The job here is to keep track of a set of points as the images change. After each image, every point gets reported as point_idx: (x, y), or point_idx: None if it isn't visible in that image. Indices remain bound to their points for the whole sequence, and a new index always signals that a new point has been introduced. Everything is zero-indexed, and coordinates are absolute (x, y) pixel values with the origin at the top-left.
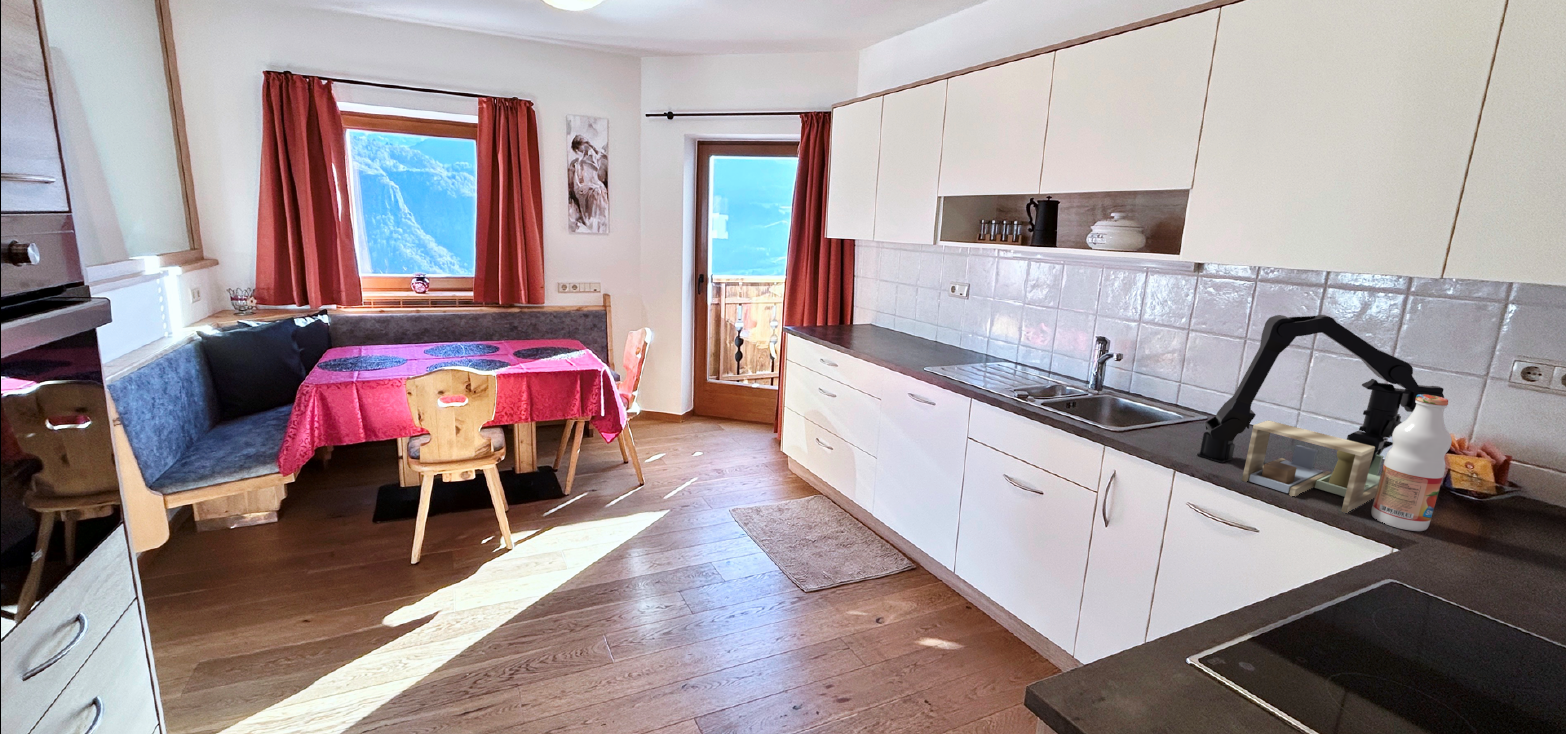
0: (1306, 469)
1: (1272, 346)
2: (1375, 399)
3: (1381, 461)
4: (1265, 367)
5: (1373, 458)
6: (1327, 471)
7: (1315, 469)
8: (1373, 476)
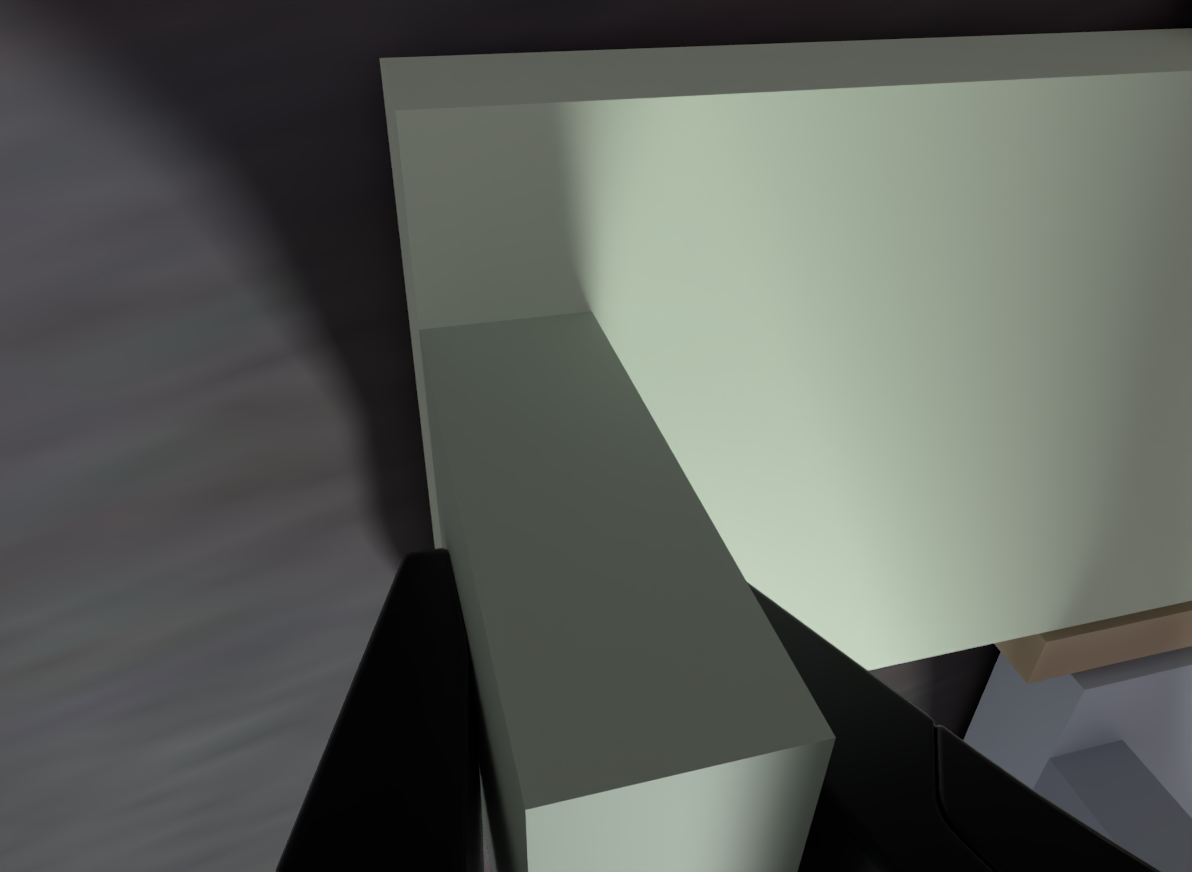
0: (1164, 746)
1: None
2: None
3: (571, 592)
4: None
5: (946, 739)
6: (1050, 670)
7: (1087, 733)
8: (731, 311)
